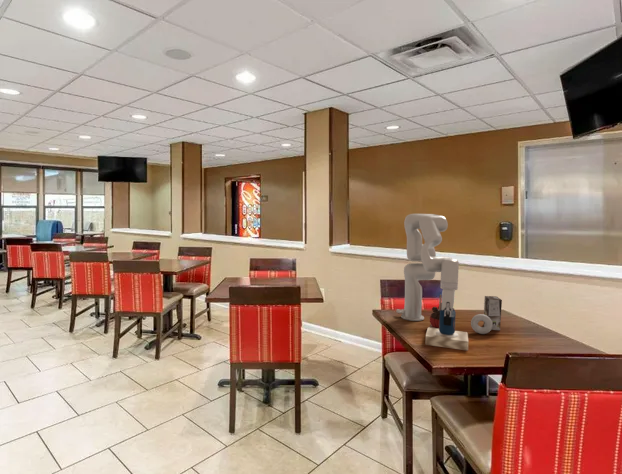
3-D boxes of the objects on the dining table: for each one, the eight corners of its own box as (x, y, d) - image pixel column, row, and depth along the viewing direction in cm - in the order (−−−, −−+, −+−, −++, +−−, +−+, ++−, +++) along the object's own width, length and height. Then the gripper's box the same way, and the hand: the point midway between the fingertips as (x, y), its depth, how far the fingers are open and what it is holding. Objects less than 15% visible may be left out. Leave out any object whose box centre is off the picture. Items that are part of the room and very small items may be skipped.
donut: (492, 334, 184) (493, 314, 183) (492, 336, 181) (493, 316, 180) (470, 331, 188) (471, 312, 187) (470, 333, 185) (471, 313, 184)
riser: (425, 344, 167) (425, 335, 167) (427, 335, 180) (427, 326, 180) (468, 350, 161) (468, 341, 160) (467, 340, 174) (467, 331, 174)
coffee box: (500, 330, 190) (502, 299, 189) (487, 329, 191) (489, 299, 190) (495, 325, 199) (497, 296, 198) (482, 324, 200) (484, 295, 199)
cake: (425, 326, 194) (426, 293, 193) (439, 325, 197) (440, 292, 196) (438, 333, 184) (440, 297, 183) (453, 331, 187) (455, 296, 186)
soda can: (457, 335, 167) (458, 310, 167) (442, 335, 167) (443, 310, 166) (450, 331, 174) (451, 306, 174) (436, 331, 174) (437, 306, 173)
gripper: (441, 281, 178) (439, 316, 179) (439, 288, 162) (438, 326, 163) (457, 283, 176) (455, 318, 177) (457, 289, 159) (456, 328, 160)
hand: (447, 322), depth 170 cm, fingers open, 8 cm apart
